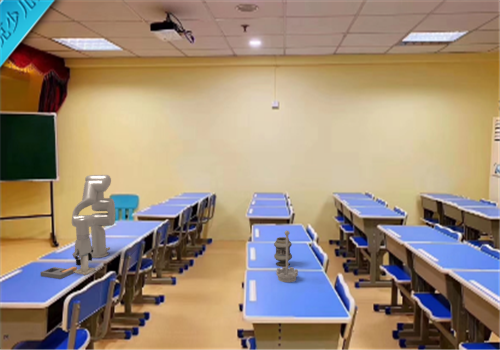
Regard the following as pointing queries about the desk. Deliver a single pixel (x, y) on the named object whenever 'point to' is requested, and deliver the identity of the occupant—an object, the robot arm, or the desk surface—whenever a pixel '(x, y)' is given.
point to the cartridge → (84, 263)
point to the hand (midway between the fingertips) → (84, 262)
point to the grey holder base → (56, 273)
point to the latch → (70, 269)
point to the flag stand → (286, 273)
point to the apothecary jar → (282, 251)
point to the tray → (85, 272)
